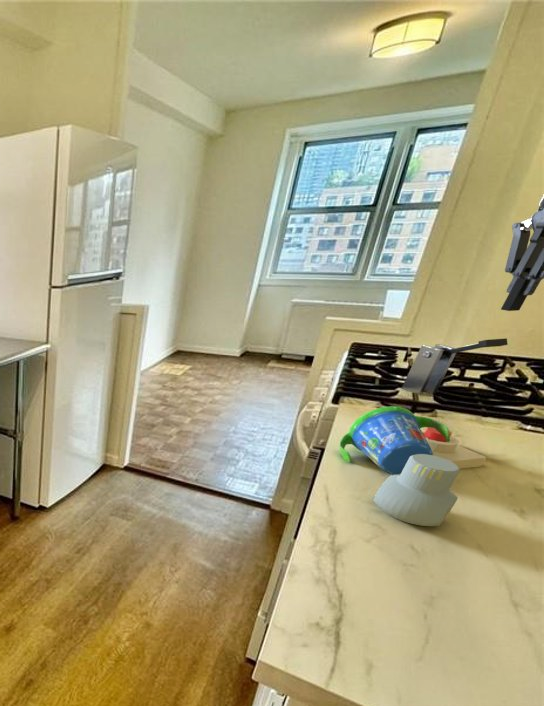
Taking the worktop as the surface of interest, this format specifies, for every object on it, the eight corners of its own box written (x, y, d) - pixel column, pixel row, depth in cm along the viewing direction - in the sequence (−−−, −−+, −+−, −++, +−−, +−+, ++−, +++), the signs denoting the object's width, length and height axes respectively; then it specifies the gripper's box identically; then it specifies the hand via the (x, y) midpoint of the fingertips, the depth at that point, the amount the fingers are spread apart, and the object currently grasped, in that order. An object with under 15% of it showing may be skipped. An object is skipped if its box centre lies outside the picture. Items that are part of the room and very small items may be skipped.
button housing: (480, 467, 92) (492, 449, 90) (436, 472, 91) (446, 453, 89) (417, 439, 103) (426, 422, 101) (376, 443, 101) (385, 425, 99)
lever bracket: (456, 403, 118) (483, 353, 112) (424, 406, 117) (450, 355, 111) (407, 386, 129) (430, 339, 123) (378, 388, 128) (399, 341, 121)
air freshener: (428, 540, 74) (461, 485, 69) (363, 514, 80) (389, 462, 75) (448, 514, 79) (480, 462, 74) (386, 492, 85) (412, 442, 80)
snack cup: (347, 455, 89) (326, 423, 97) (360, 493, 94) (339, 459, 101) (460, 423, 81) (428, 391, 89) (468, 466, 85) (437, 433, 93)
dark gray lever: (508, 346, 106) (506, 336, 106) (487, 348, 106) (485, 337, 106) (439, 359, 119) (438, 350, 119) (420, 361, 119) (419, 351, 119)
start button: (452, 442, 94) (457, 434, 93) (436, 443, 93) (441, 435, 92) (433, 433, 97) (437, 426, 96) (418, 435, 96) (422, 427, 95)
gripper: (521, 184, 97) (462, 304, 109) (608, 184, 86) (532, 318, 97) (552, 184, 98) (489, 302, 110) (642, 184, 87) (562, 316, 98)
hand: (509, 309), depth 103 cm, fingers closed
